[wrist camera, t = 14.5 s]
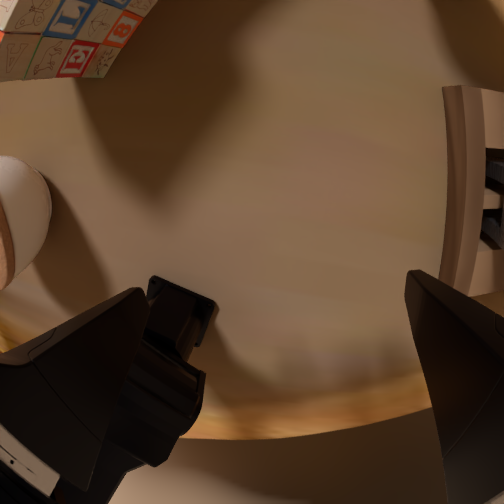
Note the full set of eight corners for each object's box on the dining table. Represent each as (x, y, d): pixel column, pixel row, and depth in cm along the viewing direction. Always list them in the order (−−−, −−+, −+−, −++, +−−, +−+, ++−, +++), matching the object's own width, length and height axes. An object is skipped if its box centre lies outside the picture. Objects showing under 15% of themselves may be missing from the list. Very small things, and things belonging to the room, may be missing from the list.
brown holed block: (438, 280, 22) (450, 299, 19) (442, 87, 15) (461, 85, 12) (515, 268, 19) (530, 284, 17) (528, 102, 13) (549, 105, 10)
